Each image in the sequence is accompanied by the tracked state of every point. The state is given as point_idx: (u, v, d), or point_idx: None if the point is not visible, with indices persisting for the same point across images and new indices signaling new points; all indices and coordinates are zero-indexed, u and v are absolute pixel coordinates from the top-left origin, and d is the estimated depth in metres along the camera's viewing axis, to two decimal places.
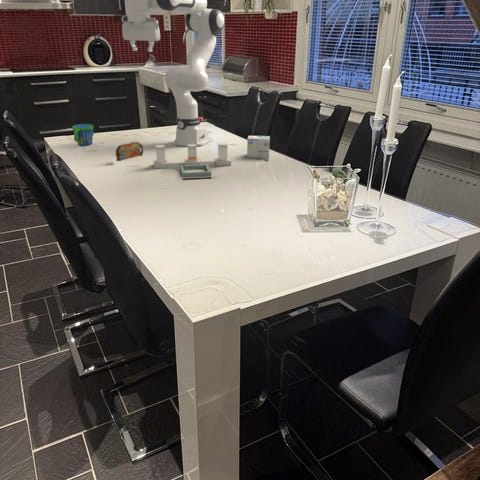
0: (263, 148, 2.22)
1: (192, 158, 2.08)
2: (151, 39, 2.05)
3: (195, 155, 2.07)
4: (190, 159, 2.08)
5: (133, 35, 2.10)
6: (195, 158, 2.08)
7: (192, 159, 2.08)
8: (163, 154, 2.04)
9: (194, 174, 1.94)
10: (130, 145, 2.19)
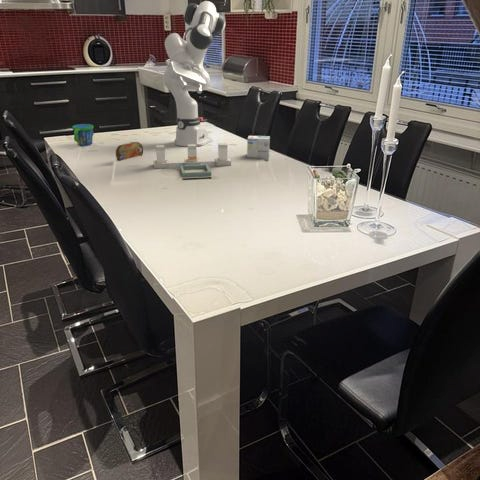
0: (263, 148, 2.22)
1: (192, 158, 2.08)
2: None
3: (195, 155, 2.07)
4: (190, 159, 2.08)
5: None
6: (195, 158, 2.08)
7: (192, 159, 2.08)
8: (163, 154, 2.04)
9: (194, 174, 1.94)
10: (130, 145, 2.19)
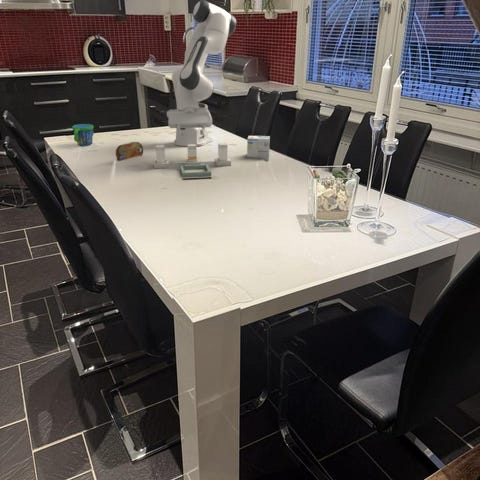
0: (263, 148, 2.22)
1: (192, 158, 2.08)
2: None
3: (195, 155, 2.07)
4: (190, 159, 2.08)
5: None
6: (195, 158, 2.08)
7: (192, 159, 2.08)
8: (163, 154, 2.04)
9: (194, 174, 1.94)
10: (130, 145, 2.19)
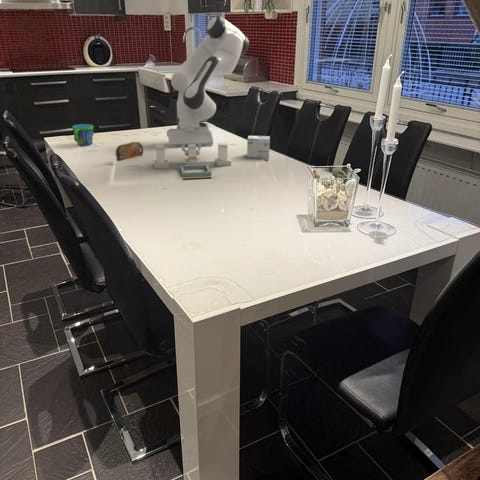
0: (263, 148, 2.22)
1: (192, 158, 2.08)
2: None
3: (195, 155, 2.07)
4: (190, 159, 2.08)
5: None
6: (195, 158, 2.08)
7: (192, 159, 2.08)
8: (163, 154, 2.04)
9: (194, 174, 1.94)
10: (130, 145, 2.19)
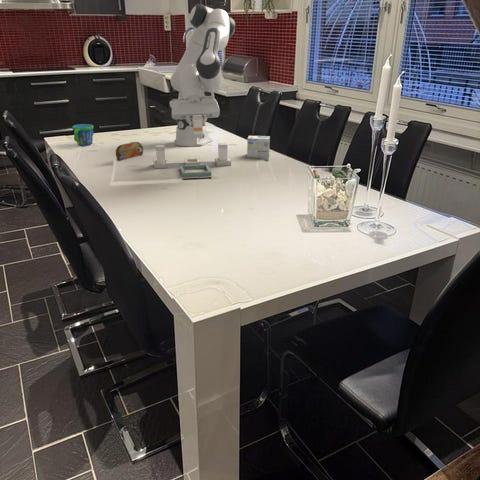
0: (263, 148, 2.22)
1: (197, 129, 1.93)
2: None
3: (201, 126, 1.93)
4: (195, 130, 1.93)
5: None
6: (201, 129, 1.93)
7: (197, 130, 1.93)
8: (163, 154, 2.04)
9: (194, 174, 1.94)
10: (130, 145, 2.19)
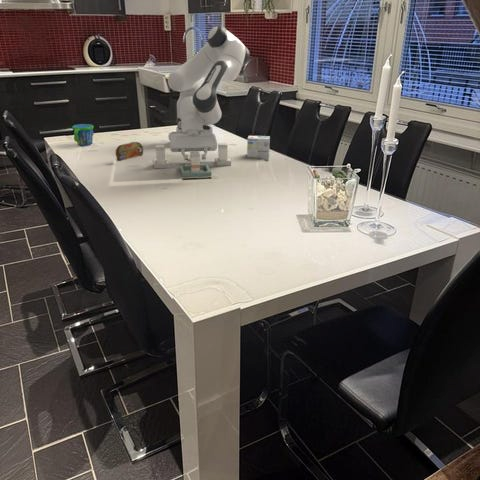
0: (263, 148, 2.22)
1: (195, 167, 1.97)
2: None
3: (198, 163, 1.97)
4: (193, 167, 1.97)
5: None
6: (199, 166, 1.97)
7: (195, 167, 1.97)
8: (163, 154, 2.04)
9: (194, 174, 1.94)
10: (130, 145, 2.19)
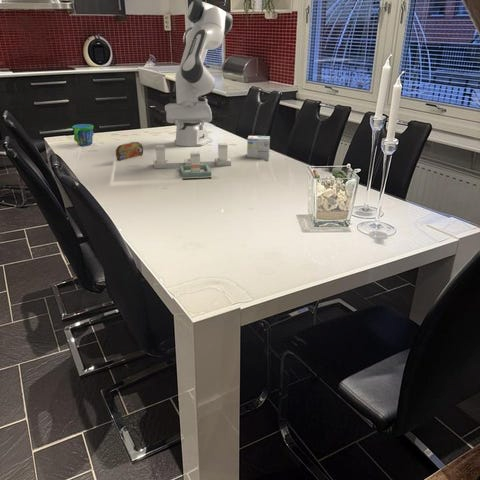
0: (263, 148, 2.22)
1: (195, 167, 1.97)
2: None
3: (198, 163, 1.97)
4: (193, 167, 1.97)
5: None
6: (199, 166, 1.97)
7: (195, 167, 1.97)
8: (163, 154, 2.04)
9: (194, 174, 1.94)
10: (130, 145, 2.19)
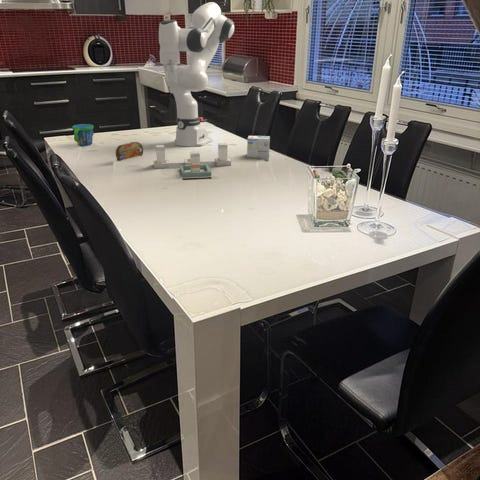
0: (263, 148, 2.22)
1: (195, 167, 1.97)
2: (168, 81, 2.05)
3: (198, 163, 1.97)
4: (193, 167, 1.97)
5: (166, 75, 2.14)
6: (199, 166, 1.97)
7: (195, 167, 1.97)
8: (163, 154, 2.04)
9: (194, 174, 1.94)
10: (130, 145, 2.19)
